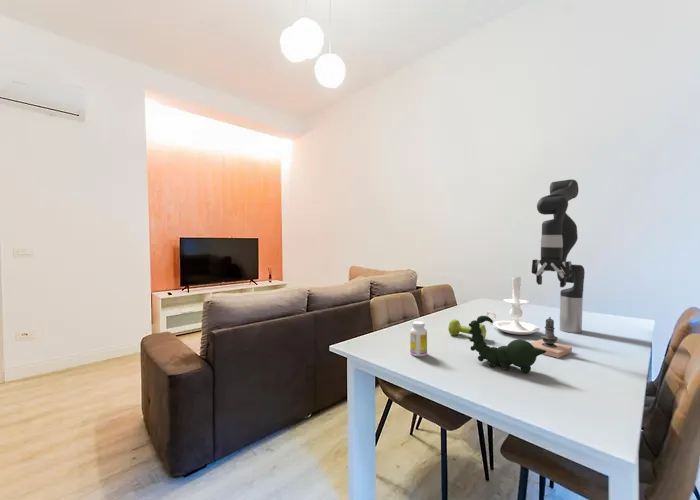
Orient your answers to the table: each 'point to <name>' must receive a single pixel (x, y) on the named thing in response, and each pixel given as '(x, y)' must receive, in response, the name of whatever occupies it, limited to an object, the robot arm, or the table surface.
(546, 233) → the robot arm
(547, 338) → the grey ridged upright piece
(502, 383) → the table surface
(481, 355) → the toy figurine
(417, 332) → the supplement bottle
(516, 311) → the candlestick
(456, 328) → the dumbbell
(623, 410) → the table surface
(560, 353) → the picture frame
